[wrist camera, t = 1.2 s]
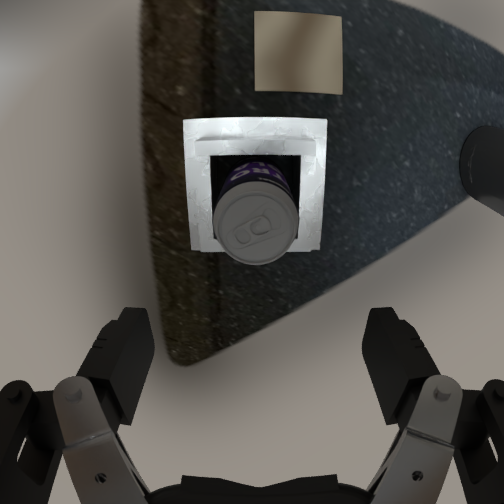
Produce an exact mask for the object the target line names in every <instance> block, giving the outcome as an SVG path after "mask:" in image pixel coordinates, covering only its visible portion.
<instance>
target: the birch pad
mask: <svg viewBox="0 0 504 504" xmlns="http://www.w3.org/2000/svg"><path fill="white" fill-rule="evenodd" d="M254 24H255V91H289V92H310V93H325V94H337V95H342V84H343V64H342V21H341V17H338V16H330V15H321V14H310V13H297V12H275V11H254Z"/></svg>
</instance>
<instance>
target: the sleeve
mask: <svg viewBox="0 0 504 504" xmlns="http://www.w3.org/2000/svg"><path fill="white" fill-rule="evenodd" d="M183 131H184V152H185V171H186V187H187V201H188V214H189V227H190V238H191V249H192V250H201V252H225V250H224V249H223V248H222V246H221V245H220V243H219V242H218V240H217V238H216V236H215V233H214V230H213V225H212V216H213V211H214V208H215V205H216V202H217V200H218V170H217V155H294V159H293V195H292V196H293V198H294V201H295V203H296V206H297V208H298V212H299V229H298V233H297V235H296V237H295V239H294V241H293V243H292V244H291V246H290V248H289V249H288V250H287V251H286V252H311V250H320V240H321V228H322V214H323V200H324V184H325V165H326V141H327V119H316V118H293V117H224V118H201V119H185V120H183Z"/></svg>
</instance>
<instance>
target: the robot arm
mask: <svg viewBox="0 0 504 504" xmlns="http://www.w3.org/2000/svg"><path fill="white" fill-rule="evenodd" d="M460 173H461V179H462V182H463V185H464V187H465V189H466V191H467V192H468V193H469V195H470V196H471V197H473V198H474V199H475V200H477V201H479V202H481V203H482V204H484V205H486V206H487V207H489V208H491V209H492V210H494V211H496V212H497V213H499V214H501V215H502V216H504V129H501V128H496V127H492V126H483V127H480V128H477V129H476V130H475V131H473V132H472V133H471V134H470V136H469V137H468V138H467V140H466V142H465V144H464V146H463V149H462V153H461V158H460ZM154 348H155V347H154V339H153V335H152V330H151V326H150V322H149V317H148V313H147V310H146V309H145V308H131V307H125V308H124V309H123V311H122V313H121V314H120V316H119V318H118V320H111V321H110V322H109V323H108V324H107V325H105V326H104V327H103V328H102V330H101V331H100V333H99V335H98V336H97V340H95V342H94V343H93V346H92V348H91V349H90V350H89V352H88V354H87V356H86V358H85V360H84V361H83V363H82V365H81V367H80V369H79V371H78V373H77V375H76V376H73V377H68V378H66V379H64V380H62V381H61V382H60V383H58V385H57V386H56V387H55V389H54V390H52V391H38V392H34V391H33V390H32V388H31V386H30V385H29V384H28V383H27V382H25V381H22V380H16V381H12V382H10V383H8V384H7V385H5V386H4V387H3V389H2V390H1V391H0V504H48V501H49V497H50V493H51V490H52V486H53V483H54V479H55V476H56V473H57V470H58V467H59V463H60V460H61V457H62V454H63V456H64V459H65V462H66V465H67V468H68V471H69V474H70V476H71V479H72V482H73V485H74V487H75V490H76V492H77V495H78V497H79V500H80V502H81V504H436V502H437V499H438V497H439V494H440V491H441V489H442V486H443V483H444V480H445V478H446V475H447V472H448V469H449V466H450V463H451V460H452V457H454V460H455V463H456V466H457V469H458V473H459V476H460V480H461V483H462V486H463V490H464V494H465V497H466V501H467V504H504V381H502V380H498V379H494V380H490V381H488V382H487V383H486V384H485V386H484V387H483V389H482V390H481V391H479V390H464V389H461V387H460V385H459V384H458V383H457V382H456V381H455V380H454V379H452V378H450V377H448V376H444V375H441V374H440V372H439V370H438V368H437V367H436V365H435V363H434V361H433V359H432V358H431V356H430V354H429V352H428V350H427V349H426V347H424V343H423V342H422V340H420V337H419V335H418V333H417V332H416V330H415V328H414V327H413V326H411V325H410V324H409V323H408V322H406V321H405V320H399V318H398V316H397V315H396V313H395V311H394V309H393V308H392V307H384V308H372V309H371V310H370V312H369V316H368V320H367V324H366V329H365V333H364V337H363V341H362V354H363V358H364V361H365V364H366V366H367V369H368V372H369V375H370V378H371V380H372V383H373V386H374V389H375V392H376V395H377V398H378V401H379V404H380V407H381V410H382V413H383V416H384V419H385V422H386V425H391V424H397V423H398V426H399V431H398V432H397V434H396V436H395V439H394V441H393V443H392V445H391V447H390V449H389V451H388V453H387V455H386V457H385V459H384V461H383V463H382V464H381V466H380V468H379V470H378V472H377V473H376V475H375V477H374V478H373V480H372V482H371V483H370V484H369V486H368V488H367V489H366V490H364V489H361V488H359V487H355V486H352V485H348V484H343V483H338V480H337V474H333V475H325V476H314V477H301V478H296V479H293V480H289V481H286V482H282V483H278V484H274V485H270V486H265V487H254V486H249V485H245V484H240V483H236V482H232V481H228V480H225V479H221V478H208V477H196V476H185V475H182V479H181V484H176V485H171V486H167V487H164V488H160V489H158V490H155V491H153V492H150V490H149V489H148V487H147V486H146V484H145V483H144V481H143V479H142V478H141V476H140V475H139V473H138V471H137V469H136V468H135V466H134V464H133V462H132V460H131V458H130V456H129V454H128V453H127V451H126V449H125V447H124V445H123V443H122V441H121V439H120V437H119V435H118V433H117V431H118V428H119V425H120V424H124V425H130V426H131V423H132V420H133V417H134V414H135V411H136V407H137V404H138V401H139V398H140V395H141V392H142V389H143V386H144V383H145V380H146V377H147V374H148V371H149V368H150V365H151V362H152V359H153V356H154ZM489 437H491V439H492V442H493V444H494V447H495V449H496V452H497V455H498V462H497V461H496V458H495V456H494V453H493V450H492V448H491V445H490V443H489V440H488V438H489ZM24 438H26V442H25V445H24V447H23V449H22V452H21V455H20V457H19V459H18V462H17V456H18V453H19V451H20V448H21V446H22V443H23V441H24Z"/></svg>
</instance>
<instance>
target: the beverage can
mask: <svg viewBox="0 0 504 504" xmlns="http://www.w3.org/2000/svg"><path fill="white" fill-rule="evenodd" d="M212 225H213V230H214V233H215V236H216V238H217V240H218V242H219V243H220V245H221V246H222V248H223V249H224V250H225V252H226V253H227V254H228V255H229V256H231V257H232V258H234V259H235V260H237V261H239V262H242V263H245V264H250V265H261V264H266V263H270V262H272V261H275V260H276V259H278V258H280V257H281V256H282V255H284V254H285V252H286V251H287V250H288V249H289V248H290V246H291V244H292V243H293V241H294V239H295V237H296V235H297V233H298V229H299V212H298V208H297V206H296V203H295V201H294V198H293V196H292V194H291V191H290V189H289V186H288V184H287V182H286V179H285V177H284V175H283V172H282V171H281V169H280V168H279V167H278V166H277V165H276V164H275V163H274V162H272V161H271V160H269V159H266V158H263V157H248V158H245V159H242V160H240V161H239V162H237V163H236V164H235V165H234V166H233V167H232V168H231V169H230V171H229V172H228V174H227V177H226V179H225V182H224V184H223V187H222V189H221V192H220V195H219V197H218V200H217V202H216V205H215V208H214V211H213V216H212Z"/></svg>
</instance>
